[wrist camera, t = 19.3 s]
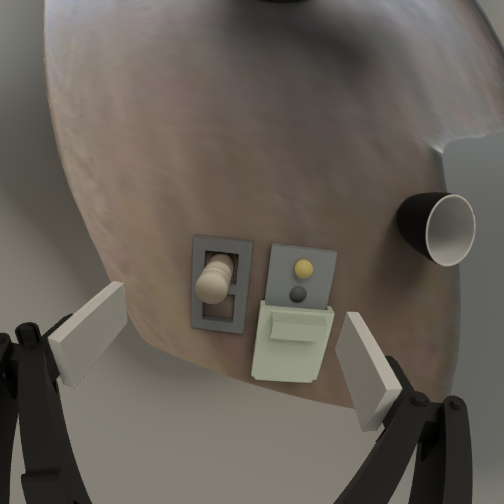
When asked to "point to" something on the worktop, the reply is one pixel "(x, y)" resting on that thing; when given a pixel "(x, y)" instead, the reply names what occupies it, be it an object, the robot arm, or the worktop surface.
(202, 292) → the pin
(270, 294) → the board
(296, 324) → the cover
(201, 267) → the socket board
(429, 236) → the mug
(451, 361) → the worktop surface
